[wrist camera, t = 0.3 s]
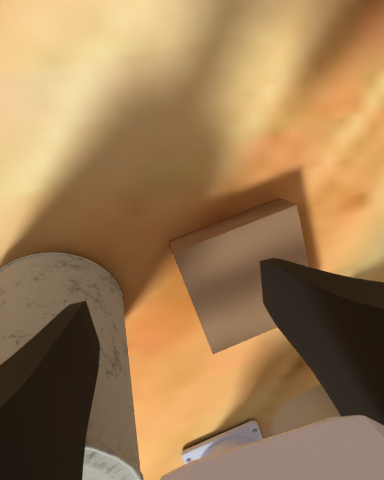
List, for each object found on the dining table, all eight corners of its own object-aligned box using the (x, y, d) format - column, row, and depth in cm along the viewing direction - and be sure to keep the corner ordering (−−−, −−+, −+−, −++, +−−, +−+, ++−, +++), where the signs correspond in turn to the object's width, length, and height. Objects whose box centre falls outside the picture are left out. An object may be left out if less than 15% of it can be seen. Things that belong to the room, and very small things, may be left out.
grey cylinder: (-52, 271, 17) (-296, 534, 7) (107, 237, 19) (114, 400, 9) (10, 377, 22) (-79, 640, 11) (135, 340, 24) (163, 535, 13)
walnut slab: (301, 294, 25) (318, 309, 23) (205, 334, 24) (213, 354, 22) (279, 198, 22) (296, 204, 19) (168, 241, 21) (173, 253, 19)
